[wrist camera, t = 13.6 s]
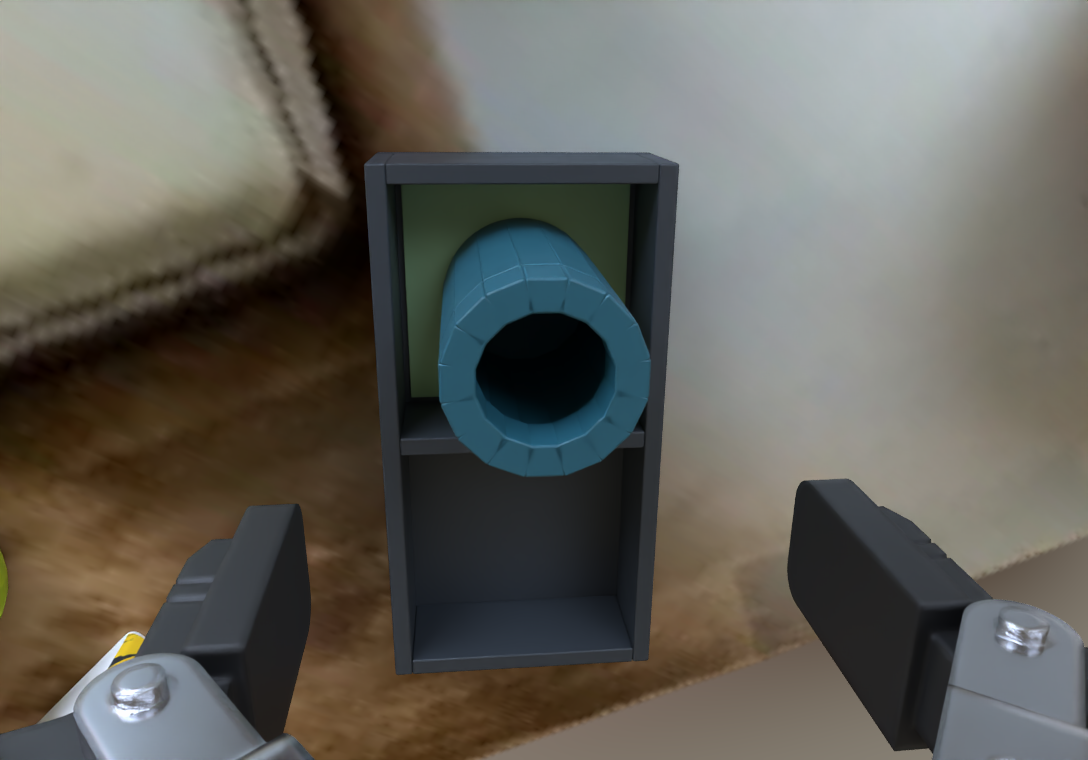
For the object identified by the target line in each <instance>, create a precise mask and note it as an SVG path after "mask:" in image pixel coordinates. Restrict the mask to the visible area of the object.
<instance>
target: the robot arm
mask: <svg viewBox="0 0 1088 760" xmlns="http://www.w3.org/2000/svg"><path fill="white" fill-rule="evenodd" d="M787 572H788V582H789V587H790V591H791V594H792V597H793V599H794V601H795V603H796V605H797V606H798V608H799V609H800V611H801V612H802V614H803V615H804V617H805V618H806V620H807V621H808V623H809V624H810V626H811V627H812V629H813V630H814V632H815V633H816V635H817V636H818V638H819V639H820V641H821V642H822V644H823V645H824V646H825V648H826V650H827V651H828V653H829V654H830V656H831V657H832V658H833V660H834V661H835V663H836V664H837V666H838V667H839V669H840V671H841V672H842V674H843V675H844V677H845V678H846V679H847V681H848V683H849V684H850V685H851V687H852V689H853V690H854V692H855V693H856V695H857V696H858V698H859V699H860V701H861V702H862V704H863V705H864V706H865V708H866V709H867V711H868V713H869V714H870V716H871V717H872V719H873V720H874V721H875V723H876V724H877V726H878V728H879V729H880V731H881V732H882V734H883V735H884V736H885V738H886V740H887V741H888V743H889V744H890V745H891V747H892V748H893V750H894V751H901V750H914V749H926V748H929V749H930V750H931V752H932V753H933V758H932V760H1088V648H1087V647H1084V644H1083V641H1082V639H1081V638H1080V636H1079V635H1078V634H1077V633H1076V631H1075V630H1074V629H1072V628H1071V627H1070V626H1069V625H1068V624H1067V623H1065V622H1064V621H1062V620H1061V619H1059V618H1057V617H1056V616H1054V615H1052V614H1050V613H1048V612H1046V611H1044V610H1041V609H1039V608H1036V607H1034V606H1030V605H1027V604H1024V603H1019V602H1015V601H1008V600H999V599H993V598H992V597H991V596H990V595H989V594H988V593H987V592H986V591H985V590H984V589H983V588H981V587H980V586H979V585H978V584H977V583H976V582H975V581H974V580H973V579H972V578H971V577H970V576H969V575H968V574H967V573H966V572H965V571H964V570H963V569H961V568H960V567H959V566H958V565H957V564H956V563H955V562H954V561H953V560H952V559H951V558H947V556H946V553H945V552H944V551H942V550H941V549H940V548H939V547H938V546H937V545H936V544H935V543H931V539H930V538H929V537H928V536H927V535H926V534H925V533H924V532H922V531H921V530H920V529H919V528H918V527H917V526H916V525H915V524H914V523H913V522H912V521H910V520H908V519H906V518H904V517H903V516H901V515H899V514H897V513H895V512H893V511H891V510H889V509H887V508H885V507H884V506H880V507H878V506H877V505H876V504H875V503H874V502H873V501H872V500H871V499H870V498H869V497H868V496H867V495H866V494H865V493H864V492H863V491H862V490H861V489H860V488H859V487H858V486H857V485H856V484H855V483H854V482H853V481H851V480H849V479H830V480H809V481H802V482H801V483H800V485H799V486H798V489H797V492H796V497H795V505H794V514H793V522H792V531H791V539H790V547H789V556H788V566H787ZM310 614H311V595H310V584H309V574H308V565H307V555H306V546H305V537H304V527H303V519H302V512H301V509H300V506H299V504H282V505H261V506H249V507H248V508H247V509H246V511H245V513H244V516H243V518H242V520H241V522H240V524H239V526H238V528H237V530H236V533H235V535H234V537H233V539H215V540H211V541H210V542H209V543H207V544H206V545H205V546H204V547H202V548H201V549H200V550H198V551H197V552H196V553H195V554H193V555H192V556H191V557H190V558H188V559H187V561H186V563H185V565H184V567H183V569H182V571H181V572H180V574H179V576H178V578H177V580H176V585H173V587H172V589H171V591H170V593H169V595H168V596H167V602H166V603H164V604H163V606H162V607H161V609H160V611H159V613H158V615H157V617H156V619H155V620H154V622H153V624H152V626H151V628H150V630H149V631H148V633H147V635H146V637H145V639H144V641H143V642H142V644H141V646H140V648H139V650H138V652H137V654H136V655H135V657H134V658H132V659H129V660H127V661H124V662H122V663H119V664H117V665H115V666H113V667H111V668H109V669H107V670H106V671H104V672H102V673H101V674H99V675H98V676H97V677H95V678H94V679H93V680H92V681H90V682H89V683H88V684H87V685H86V686H85V687H84V689H83V690H82V691H81V692H80V694H79V695H78V697H77V699H76V701H75V704H74V708H73V712H72V713H70V714H67V715H65V716H62V717H59V718H56V719H53V720H50V721H46V722H43V723H39V724H35V725H32V726H28V727H25V728H21V729H17V730H14V731H10V732H7V733H3V734H0V760H314V758H313V757H312V756H311V755H310V754H309V753H308V752H307V751H306V749H305V748H304V747H303V746H302V745H301V744H300V743H299V742H298V741H297V740H296V739H295V738H294V737H293V736H291V735H289V734H287V733H283V731H284V727H285V723H286V719H287V715H288V711H289V707H290V703H291V699H292V695H293V691H294V687H295V683H296V680H297V676H298V672H299V668H300V664H301V660H302V656H303V652H304V648H305V644H306V640H307V636H308V631H309V625H310Z"/></svg>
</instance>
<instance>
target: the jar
mask: <svg viewBox="0 0 1088 760" xmlns="http://www.w3.org/2000/svg"><path fill="white" fill-rule="evenodd" d="M650 371H651V360H650V354H649V352H648V349H647V346H646V344H645V341H644V338H643V336H642V333H641V330H640V328H639V325H638V323H637V322H636V321H635V319H634V317H633V316H632V315H631V313H630V312H629V311H628V309H627V308H626V307H625V305H624V303H623V302H622V301H621V299H620V298H619V297H618V295H617V294H616V293H615V291H614V290H613V289H612V287H611V286H610V285H609V283H608V282H607V281H606V279H605V278H604V277H603V275H602V274H601V273H600V271H599V270H598V269H597V267H596V266H595V265H594V263H593V262H592V261H591V259H590V258H589V257H588V255H587V254H586V253H585V252H584V251H583V250H582V249H581V248H580V247H579V245H578V244H577V243H576V242H575V241H574V240H573V239H572V238H571V237H570V236H569V235H568V234H567V233H565V232H564V231H562V230H561V229H559V228H557V227H555V226H553V225H551V224H549V223H546V222H543V221H540V220H535V219H530V218H511V219H505V220H500V221H497V222H494V223H491V224H489V225H487V226H485V227H483V228H481V229H480V230H478V231H477V232H475V233H474V234H472V235H471V236H470V237H469V238H468V239H467V240H466V241H465V242H464V243H463V244H462V245H461V246H460V248H459V249H458V250H457V252H456V253H455V255H454V256H453V258H452V261H451V263H450V265H449V267H448V270H447V274H446V278H445V280H444V284H443V297H442V312H441V328H440V344H439V361H438V376H439V401H440V403H441V407H442V409H443V411H444V413H445V415H446V418H447V420H448V422H449V424H450V426H451V428H452V430H453V432H454V434H455V436H456V437H458V440H459V441H460V442H461V443H462V444H463V445H464V446H465V447H467V448H468V449H469V450H470V451H471V452H472V453H474V454H475V455H476V456H477V457H478V458H479V459H481V460H482V461H483V462H484V463H486V464H488V465H489V466H492V467H495V468H498V469H501V470H504V471H507V472H510V473H513V474H516V475H518V476H521V477H524V476H526V477H548V476H563V475H565V476H567V475H569V474H572V473H574V472H577V471H579V470H582V469H584V468H587V467H589V466H591V465H594V464H596V463H599V462H601V460H604V459H605V458H606V457H607V456H608V455H609V454H610V453H611V452H612V451H613V450H614V449H616V448H617V447H618V446H619V445H620V444H621V443H622V442H623V441H624V440H625V439H626V438H628V437H629V436H630V433H632V432H633V430H634V428H635V426H636V424H637V422H638V420H639V418H640V416H641V414H642V412H643V410H644V407H645V405H646V403H647V401H648V397H649V389H650Z"/></svg>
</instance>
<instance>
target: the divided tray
mask: <svg viewBox="0 0 1088 760" xmlns="http://www.w3.org/2000/svg"><path fill="white" fill-rule="evenodd" d="M364 172H365V188H366V204H367V220H368V236H369V252H370V268H371V284H372V300H373V316H374V332H375V348H376V364H377V381H378V397H379V413H380V429H381V445H382V461H383V477H384V493H385V509H386V525H387V541H388V557H389V573H390V589H391V605H392V621H393V637H394V653H395V669H396V674H397V675H404V674H412V672H413V673H414V674H421V673H438V672H455V671H473V670H490V669H507V668H524V667H542V666H559V665H576V664H593V663H610V662H628V661H632V659H633V661H645V660H648V656H649V640H650V624H651V608H652V592H653V576H654V560H655V544H656V527H657V511H658V495H659V479H660V463H661V447H662V431H663V415H664V399H665V383H666V367H667V351H668V335H669V319H670V303H671V287H672V271H673V255H674V239H675V223H676V207H677V191H678V175H679V164H677V163H675V162H672V161H669V160H667V159H664V158H662V157H659V156H656V155H654V154H651V153H565V152H378V153H376V154H375V155H374V156H373V157H372V158H371V159H370V160H369V161H367V162H366V163H365V165H364ZM511 218H530V219H535V220H540V221H543V222H546V223H549V224H551V225H553V226H555V227H557V228H559V229H561V230H562V231H564V232H565V233H567V234H568V235H569V236H570V237H571V238H572V239H573V240H574V241H575V242H576V243H577V244H578V245H579V247H580V248H581V249H582V250H583V251H584V252H585V253H586V254H587V255H588V257H589V258H590V259H591V261H592V262H593V263H594V265H595V266H596V267H597V269H598V270H599V271H600V273H601V274H602V275H603V277H604V278H605V279H606V281H607V282H608V283H609V285H610V286H611V287H612V289H613V290H614V291H615V293H616V294H617V295H618V297H619V298H620V299H621V301H622V302H623V303H624V305H625V307H626V308H627V309H628V311H629V312H630V313H631V315H632V316H633V317H634V319H635V321H636V322H637V323H638V325H639V328H640V330H641V333H642V336H643V338H644V341H645V344H646V346H647V349H648V352H649V354H650V360H651V371H650V389H649V397H648V401H647V403H646V405H645V407H644V410H643V412H642V414H641V416H640V418H639V420H638V422H637V424H636V426H635V428H634V430H633V432H632V433H630V436H629V437H628V438H626V439H625V440H624V441H623V442H622V443H621V444H620V445H619V446H618V447H617V448H616V449H614V450H613V451H612V452H611V453H610V454H609V455H608V456H607V457H606V458H605V459H604V460H601V462H599V463H596V464H594V465H591V466H589V467H587V468H584V469H582V470H579V471H577V472H574V473H572V474H569V475H567V476H565V475H563V476H548V477H526V476H524V477H521V476H518V475H516V474H513V473H510V472H507V471H504V470H501V469H498V468H495V467H492V466H489V465H488V464H486V463H484V462H483V461H482V460H481V459H479V458H478V457H477V456H476V455H475V454H474V453H472V452H471V451H470V450H469V449H468V448H467V447H465V446H464V445H463V444H462V443H461V442H460V441H459V440H458V437H456V436H455V434H454V432H453V430H452V428H451V426H450V424H449V422H448V420H447V418H446V415H445V413H444V411H443V409H442V407H441V403H440V401H439V376H438V361H439V344H440V328H441V312H442V297H443V284H444V280H445V278H446V274H447V270H448V267H449V265H450V263H451V261H452V258H453V256H454V255H455V253H456V252H457V250H458V249H459V248H460V246H461V245H462V244H463V243H464V242H465V241H466V240H467V239H468V238H469V237H470V236H471V235H472V234H474V233H475V232H477V231H478V230H480V229H481V228H483V227H485V226H487V225H489V224H491V223H494V222H497V221H500V220H505V219H511Z"/></svg>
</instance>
